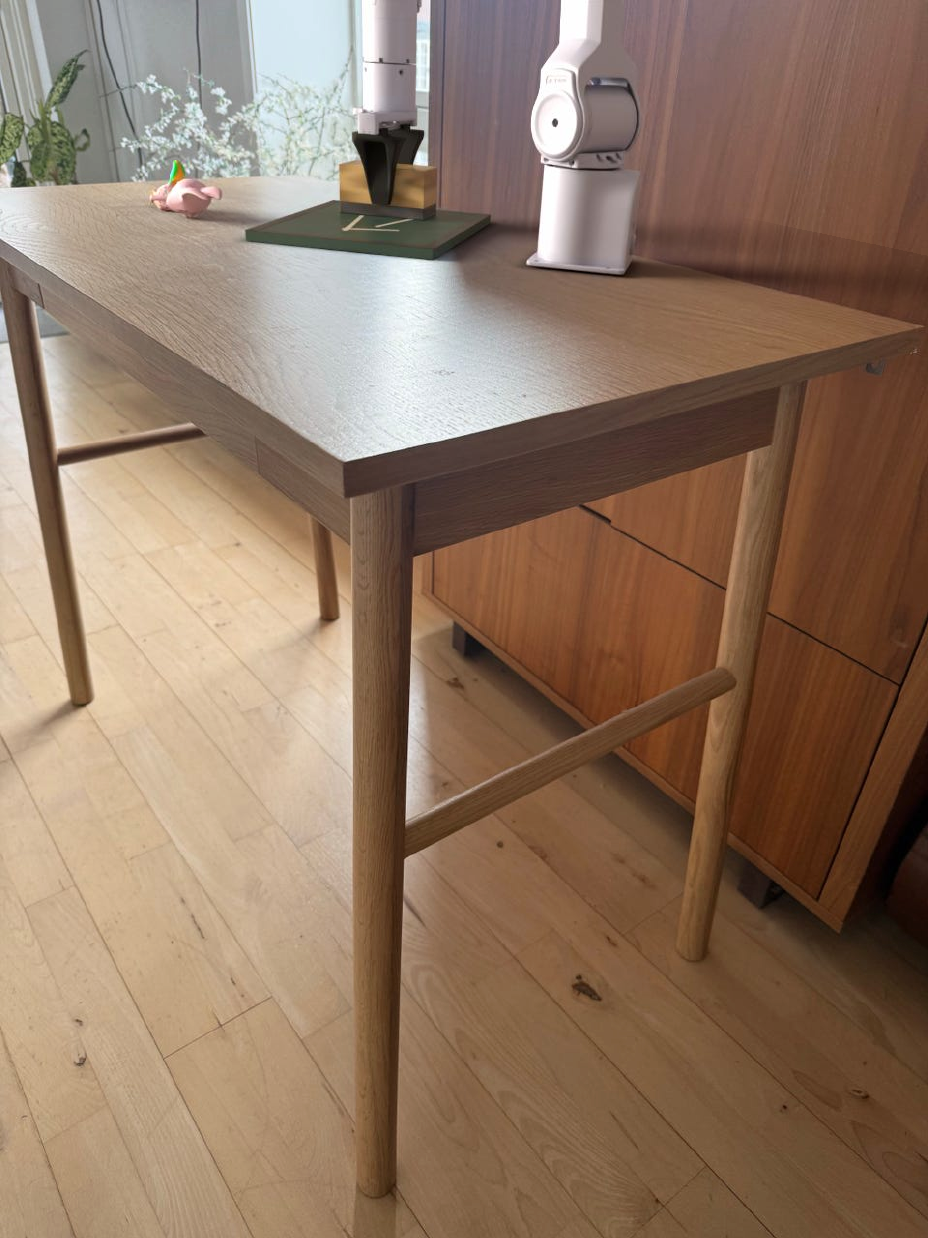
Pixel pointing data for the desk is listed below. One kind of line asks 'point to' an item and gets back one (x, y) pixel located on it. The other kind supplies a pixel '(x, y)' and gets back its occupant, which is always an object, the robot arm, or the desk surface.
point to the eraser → (409, 193)
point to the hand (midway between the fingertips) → (389, 200)
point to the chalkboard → (370, 231)
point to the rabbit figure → (184, 194)
